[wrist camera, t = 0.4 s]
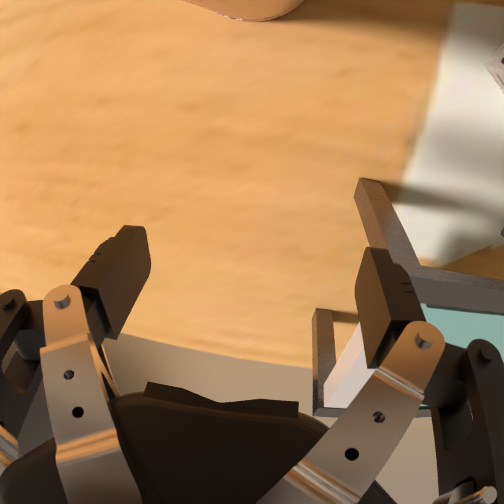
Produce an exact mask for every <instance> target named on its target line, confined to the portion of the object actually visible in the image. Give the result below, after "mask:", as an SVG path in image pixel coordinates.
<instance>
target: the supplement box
mask: <svg viewBox="0 0 504 504" xmlns="http://www.w3.org/2000/svg"><path fill="white" fill-rule="evenodd" d="M485 67H486V69H487V70H488V71H489V73H490V74H491V76H492V77H493V79H494V80H495V81H496V83H497V84H498V86H499V87H500V89H501V90H502V92H503V93H504V42H503V44H502V45H501V46H500V47H499V48H498V49H497V50H496V52H495V53H494V54H493V55H492V56H491V58H490V59H489V60H488V61H487V62H486V64H485Z"/></svg>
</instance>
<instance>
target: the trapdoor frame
mask: <svg viewBox="0 0 504 504" xmlns="http://www.w3.org/2000/svg"><path fill="white" fill-rule="evenodd" d="M354 199H355V202H356V205H357V208H358V210H359V213H360V216H361V219H362V223H363V226H364V229H365V232H366V235H367V238H368V241H369V245H370V247H376V248H386V249H388V251H389V253H390V256H391V258H392V261H393V263H397V264H400V265H401V266H402V267H403V268H404V269H405V270H406V272H407V273H408V274H409V277H410V279H411V282H412V285H413V287H414V289H415V294H417V297H418V300H419V302H420V303H423V304H431V305H439V306H447V307H456V308H464V309H473V310H482V311H491V312H500V313H504V281H502V280H497V279H492V278H487V277H481V276H476V275H471V274H465V273H460V272H454V271H449V270H443V269H438V268H432V267H427V266H421V265H420V263H419V261H418V259H417V256H416V254H415V252H414V250H413V248H412V245H411V243H410V241H409V239H408V237H407V235H406V233H405V230H404V228H403V226H402V224H401V222H400V220H399V218H398V216H397V214H396V212H395V210H394V208H393V206H392V204H391V202H390V200H389V199H388V197H387V195H386V193H385V191H384V189H383V187H382V185H381V184H380V182H377V181H373V180H368V179H364V178H359V181H358V184H357V188H356V191H355V194H354ZM501 235H502V236H503V238H504V228H503V230H502V232H501ZM312 348H313V416H319V417H338V418H339V417H340V416H341V414H342V413H343V412H344V411H345V409H346V408H333V407H324V383H325V382H326V380H327V378H328V377H329V375H330V373H331V372H332V370H333V368H334V367H335V365H336V356H335V341H334V328H333V317H332V311H331V310H324V309H316V310H315V312H314V315H313V318H312ZM469 405H470V403H469ZM470 409H471V407H470ZM471 413H472V411H471ZM419 417H431V410H430V406H420V407H419V409H418V411H417V413H416V414H415V416H414V418H419Z"/></svg>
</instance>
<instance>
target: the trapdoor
mask: <svg viewBox="0 0 504 504" xmlns="http://www.w3.org/2000/svg"><path fill="white" fill-rule="evenodd" d="M421 308H422V310H423V313H424V316H425V318H426V321H427V322H428V323H430V324H432V325H434V326H435V327H436V328H438V329H439V330H440V332H441V333H442V334H443V336H444V339H445V342H446V343H449V344H452V345H456V346H459V347H463V348H467V346H468V345H469V343H470V342H471V341H472V340H474V339H484V340H487V341H489V342H490V343H492V344H493V345H494V346H495V347H496V348H497V349H498V351H499V352H500V355H501V357H502V360H503V363H504V313H500V312H491V311H482V310H473V309H464V308H456V307H447V306H439V305H431V304H423V303H421ZM375 370H376V369H367V364H366V357H365V351H364V345H363V339H362V333H361V327H360V321H359V323H358V325H357V327H356V329H355V331H354V333H353V335H352V336H351V338H350V340H349V342H348V344H347V345H346V347H345V349H344V351H343V353H342V354H341V356H340V358H339V360H338V361H337V363H336V365H335V367H334V368H333V370H332V372H331V373H330V375H329V377H328V378H327V380H326V382H325V383H324V407H333V408H347V407H348V406H349V404H350V403H351V402H352V400H353V399H354V398H355V397H356V395H357V394H358V393H359V391H360V390H361V389H362V387H363V386H364V385H365V383H366V382H367V381H368V379H369V378H370V377H371V375H372V374H373V372H374V371H375ZM420 406H427V405H423V404H421V405H420Z"/></svg>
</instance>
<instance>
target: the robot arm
mask: <svg viewBox="0 0 504 504" xmlns="http://www.w3.org/2000/svg"><path fill="white" fill-rule="evenodd" d="M182 1H186V2H189V3H191V4H194V5H197V6H200V7H203V8H206V9H208V10H211V11H214V12H216V13H218V14H220V15H222V16H225V17H228V18H232V19H236V20H242V21H259V22H260V21H266V20H272V19H275V18H278V17H281V16H284V15H285V14H287V13H289V12H291V11H292V10H294V9H295V8H296V7H298V6H299V5H300V4H301V3H302V2H303V1H304V0H182ZM150 270H151V258H150V253H149V247H148V241H147V235H146V230H145V228H144V227H143V226H131V225H124V226H123V227H122V228H121V229H120V231H119V232H118V233H117V234H116V236H115V237H111V238H109V239H108V240H106V241H105V242H103V243H102V244H100V246H99V247H98V248H97V249H96V251H95V252H94V255H92V256H91V257H90V258H89V261H88V262H86V264H85V265H84V266H83V268H82V269H81V270H80V272H79V273H78V274H77V276H76V277H75V278H74V280H73V281H72V282H71V284H70V285H62V286H59V287H56V288H54V289H53V290H51V291H50V292H49V293H48V294H47V295H46V296H45V298H44V300H37V301H27V299H26V297H25V295H24V293H23V292H22V291H20V290H17V289H13V290H9V291H7V292H5V293H3V294H1V295H0V504H397V503H396V502H395V501H394V500H393V499H392V498H391V497H390V496H389V495H388V493H386V491H385V490H384V489H383V488H382V487H381V486H380V485H379V483H378V482H377V481H376V480H375V478H376V477H377V475H378V474H379V473H380V471H381V470H382V468H383V467H384V465H385V464H386V462H387V461H388V459H389V458H390V456H391V454H392V453H393V452H394V450H395V448H396V447H397V445H398V443H399V442H400V440H401V439H402V437H403V435H404V434H405V432H406V430H407V428H408V427H409V425H410V423H411V422H412V420H413V418H414V416H415V414H416V413H417V411H418V409H419V407H420V405H421V404H423V405H427V406H430V410H431V417H432V424H433V432H434V439H435V449H436V459H437V470H438V485H439V486H438V487H439V497H438V498H437V499H435V501H434V502H433V503H432V504H504V363H503V360H502V357H501V355H500V352H499V351H498V349H497V348H496V347H495V346H494V345H493V344H492V343H490V342H489V341H487V340H484V339H474V340H472V341H471V342H470V343H469V345H468V346H467V348H463V347H459V346H456V345H452V344H449V343H446V342H445V339H444V336H443V334H442V333H441V332H440V330H439V329H438V328H436V327H435V326H434V325H432V324H430V323H428V322H427V321H426V318H425V316H424V313H423V310H422V308H421V305H420V302H419V300H418V297H417V294H415V289H414V287H413V285H412V282H411V279H410V277H409V274H408V273H407V272H406V270H405V269H404V268H403V267H402V266H401V265H400V264H397V263H393V261H392V258H391V256H390V253H389V251H388V249H386V248H376V247H366V249H365V251H364V255H363V258H362V262H361V266H360V269H359V273H358V276H357V279H356V284H355V300H356V305H357V310H358V316H359V321H360V327H361V333H362V339H363V345H364V351H365V357H366V364H367V369H376V370H375V371H374V372H373V374H372V375H371V377H370V378H369V379H368V381H367V382H366V383H365V385H364V386H363V387H362V389H361V390H360V391H359V393H358V394H357V395H356V397H355V398H354V399H353V400H352V402H351V403H350V404H349V406H348V407H347V408H346V409H345V411H344V412H343V413H342V414H341V416H340V417H339V418H338V419H337V420H336V422H335V423H334V424H333V425H332V426H331V428H329V427H328V426H326V425H325V424H323V423H322V422H320V421H319V420H317V419H315V418H313V417H311V416H308V415H306V414H303V413H300V412H298V406H299V402H296V401H281V400H269V399H254V400H245V401H236V402H225V403H219V402H215V401H213V400H210V399H208V398H205V397H202V396H200V395H198V394H195V393H193V392H190V391H188V390H185V389H183V388H178V387H173V386H168V385H162V384H157V383H153V382H148V383H147V385H146V388H145V391H144V392H134V393H129V394H125V395H122V396H120V394H119V392H118V390H117V387H116V384H115V382H114V379H113V376H112V373H111V370H110V367H109V363H108V360H107V357H106V354H105V351H104V348H103V345H102V342H103V340H104V338H110V339H115V340H117V338H118V335H119V334H120V332H121V330H122V328H123V326H124V324H125V321H126V319H127V317H128V315H129V314H130V312H131V310H132V308H133V306H134V304H135V302H136V300H137V298H138V296H139V294H140V292H141V290H142V288H143V286H144V284H145V283H146V281H147V279H148V277H149V274H150ZM11 344H13V345H14V347H15V348H16V350H17V351H16V353H15V355H14V357H13V358H12V360H11V362H10V364H9V366H8V367H7V369H6V371H5V373H4V374H3V372H2V368H1V365H2V360H3V358H4V356H5V354H6V353H7V351H8V349H9V347H10V346H11ZM42 378H43V381H44V387H45V393H46V398H47V405H48V410H49V415H50V420H51V424H52V429H53V433H54V437H53V438H51V439H49V440H48V441H46V442H45V443H43V444H42V445H40V446H38V447H36V448H35V449H33V450H32V451H30V452H28V453H27V454H25V455H24V456H22V457H21V455H20V453H19V452H18V443H17V438H18V435H19V433H20V430H21V428H22V425H23V422H24V420H25V418H26V415H27V413H28V410H29V408H30V406H31V403H32V401H33V399H34V396H35V394H36V392H37V389H38V387H39V385H40V383H41V381H42ZM469 403H470V405H469ZM470 407H471V409H470ZM471 411H472V414H471ZM472 416H473V419H472Z"/></svg>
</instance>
